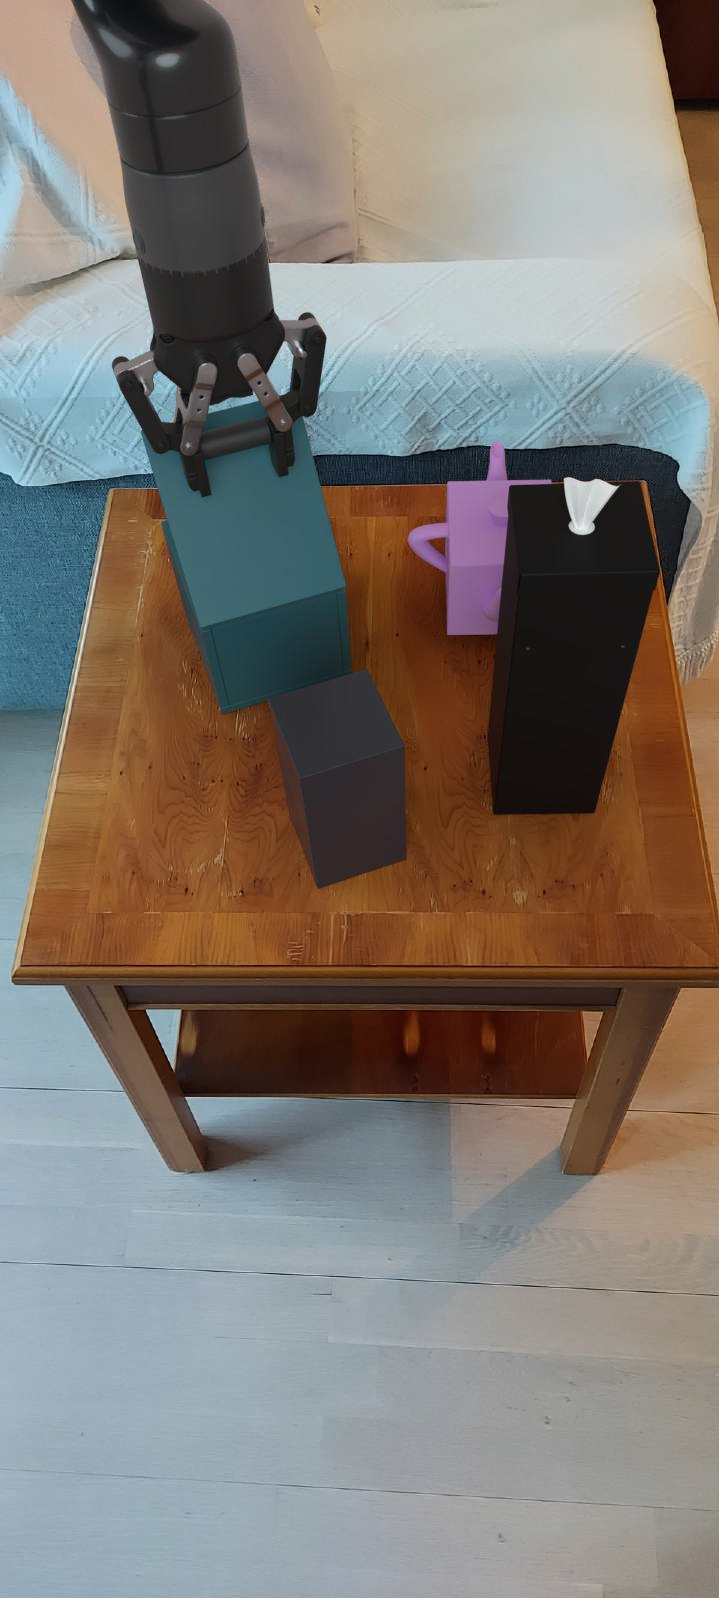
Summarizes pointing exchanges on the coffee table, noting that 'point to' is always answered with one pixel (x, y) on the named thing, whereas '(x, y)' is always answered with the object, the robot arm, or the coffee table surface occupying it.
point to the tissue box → (566, 640)
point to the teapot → (472, 547)
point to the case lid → (248, 520)
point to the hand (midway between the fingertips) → (241, 479)
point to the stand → (342, 776)
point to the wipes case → (270, 645)
